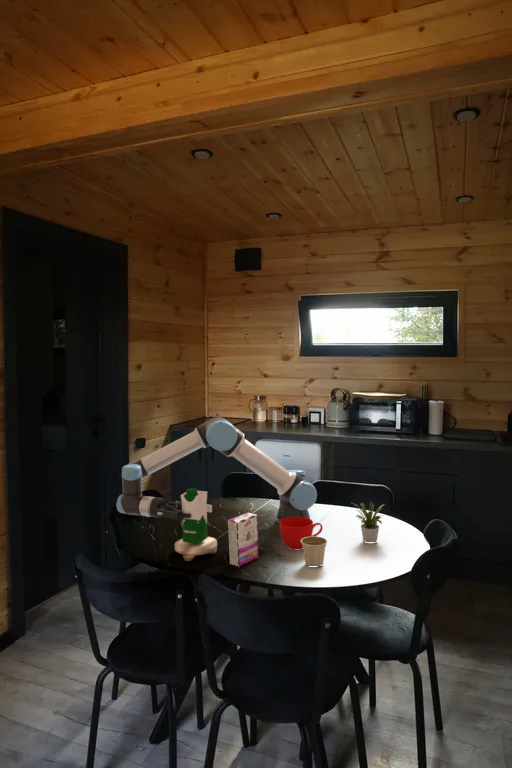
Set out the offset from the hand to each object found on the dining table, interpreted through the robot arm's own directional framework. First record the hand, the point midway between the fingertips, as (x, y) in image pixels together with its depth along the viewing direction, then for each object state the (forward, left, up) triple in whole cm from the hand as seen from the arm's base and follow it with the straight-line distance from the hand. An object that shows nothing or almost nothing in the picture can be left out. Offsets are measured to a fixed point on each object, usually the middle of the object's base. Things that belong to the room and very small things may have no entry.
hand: (205, 512), depth 196 cm
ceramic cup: (-31, -19, -17) cm, 40 cm away
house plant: (-54, -32, -16) cm, 65 cm away
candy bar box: (-15, +1, -17) cm, 23 cm away
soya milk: (+5, 0, -11) cm, 12 cm away
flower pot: (-40, -4, -17) cm, 44 cm away
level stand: (+5, 0, -16) cm, 17 cm away
